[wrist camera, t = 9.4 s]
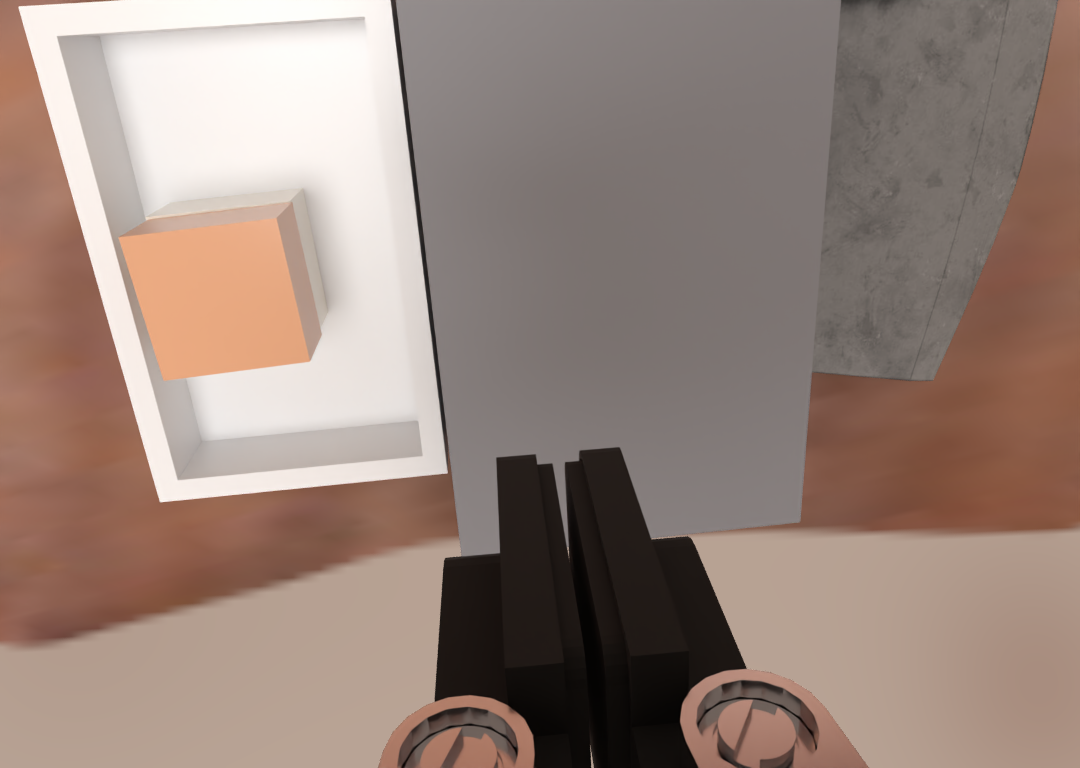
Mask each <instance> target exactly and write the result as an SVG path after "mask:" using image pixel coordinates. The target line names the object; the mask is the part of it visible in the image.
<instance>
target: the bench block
mask: <svg viewBox="0 0 1080 768" xmlns="http://www.w3.org/2000/svg"><path fill="white" fill-rule="evenodd" d="M396 6H397V15H398V23H399V32H400V40H401V48H402V57H403V65H404V74H405V82H406V91H407V99H408V108H409V116H410V124H411V133H412V141H413V150H414V158H415V167H416V175H417V184H418V192H419V201H420V209H421V217H422V226H423V234H424V243H425V251H426V260H427V268H428V277H429V285H430V293H431V302H432V310H433V319H434V327H435V336H436V344H437V353H438V361H439V370H440V378H441V386H442V395H443V403H444V412H445V420H446V429H447V437H448V446H449V454H450V463H451V471H452V479H453V488H454V496H455V505H456V513H457V522H458V530H459V539H460V547H461V555H462V556H473V555H484V554H495V553H500V540H499V515H498V490H497V466H496V457H507V456H519V455H531V454H536V458H537V464H549V463H553V469H554V474H555V480H556V486H557V492H558V498H559V504H560V510H561V515H562V521H563V527H564V533H565V539H566V545H567V547H569V543H568V524H567V504H566V485H565V462H573V461H579V451H580V450H590V449H602V448H614V447H620V449H621V451H622V454H623V457H624V460H625V463H626V466H627V469H628V472H629V475H630V478H631V481H632V484H633V487H634V490H635V493H636V495H637V498H638V501H639V504H640V507H641V510H642V513H643V516H644V519H645V522H646V525H647V528H648V531H649V534H650V537H651V538H658V537H667V536H676V535H686V534H695V533H704V532H713V531H723V530H732V529H741V528H751V527H760V526H769V525H779V524H788V523H797V522H800V517H801V504H802V492H803V479H804V466H805V453H806V441H807V428H808V415H809V402H810V390H811V377H812V364H813V351H814V339H815V326H816V313H817V300H818V288H819V275H820V262H821V250H822V237H823V224H824V211H825V199H826V186H827V173H828V160H829V148H830V135H831V122H832V109H833V97H834V84H835V71H836V58H837V46H838V33H839V20H840V8H841V0H396Z"/></svg>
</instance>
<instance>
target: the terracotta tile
mask: <svg viewBox="0 0 1080 768" xmlns="http://www.w3.org/2000/svg"><path fill="white" fill-rule="evenodd" d="M118 238H119V241H120V244H121V247H122V250H123V254H124V257H125V260H126V263H127V266H128V270H129V273H130V276H131V279H132V282H133V285H134V289H135V292H136V295H137V298H138V301H139V304H140V308H141V311H142V314H143V317H144V320H145V323H146V327H147V330H148V333H149V336H150V339H151V342H152V346H153V349H154V352H155V355H156V358H157V361H158V365H159V368H160V371H161V374H162V377H163V380H164V381H167V380H174V379H182V378H190V377H197V376H205V375H212V374H220V373H228V372H235V371H243V370H251V369H258V368H266V367H273V366H281V365H289V364H296V363H304V362H310V361H311V359H312V356H313V354H314V352H315V350H316V347H317V345H318V343H319V340H320V338H321V336H322V332H321V328H320V323H319V319H318V314H317V310H316V306H315V301H314V297H313V292H312V288H311V283H310V279H309V274H308V270H307V266H306V261H305V257H304V252H303V248H302V243H301V239H300V234H299V230H298V225H297V221H296V217H295V212H294V208H293V203H292V202H288V203H279V204H271V205H263V206H255V207H246V208H238V209H230V210H222V211H214V212H205V213H197V214H189V215H181V216H173V217H164V218H156V219H148V220H147V221H145V222H143V223H142V224H140V225H138V226H137V227H135V228H133V229H132V230H130V231H128V232H127V233H125V234H123V235H122V236H120V237H118Z"/></svg>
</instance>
